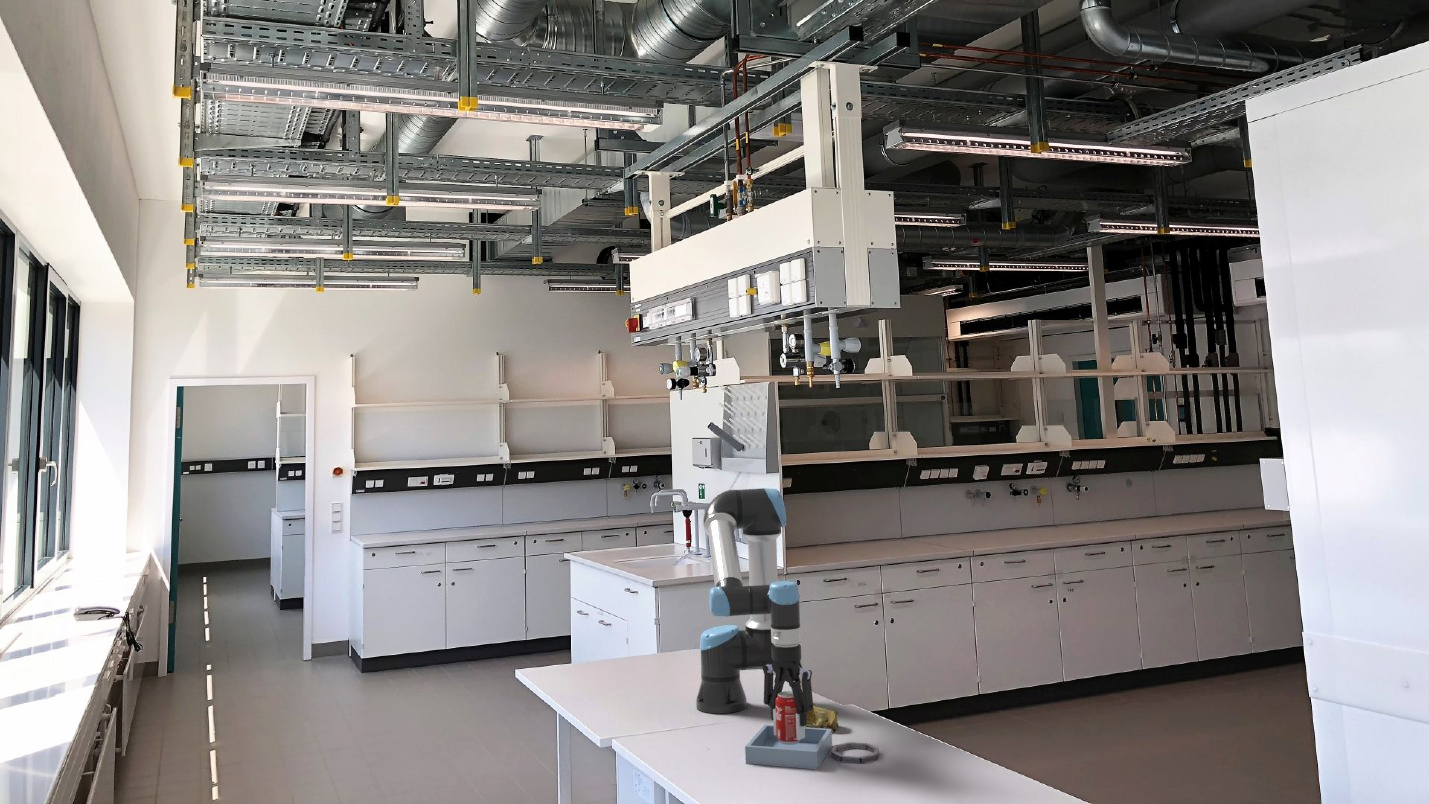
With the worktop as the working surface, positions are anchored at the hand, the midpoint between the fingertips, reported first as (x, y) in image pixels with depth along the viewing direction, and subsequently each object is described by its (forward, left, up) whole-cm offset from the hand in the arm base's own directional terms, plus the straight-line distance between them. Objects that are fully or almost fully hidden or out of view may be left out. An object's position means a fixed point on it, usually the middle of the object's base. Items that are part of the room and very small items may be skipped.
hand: (789, 736), depth 235 cm
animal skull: (-23, +1, -5) cm, 23 cm away
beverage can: (0, 0, -2) cm, 2 cm away
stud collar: (-3, +16, -4) cm, 17 cm away
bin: (0, 0, -4) cm, 4 cm away
